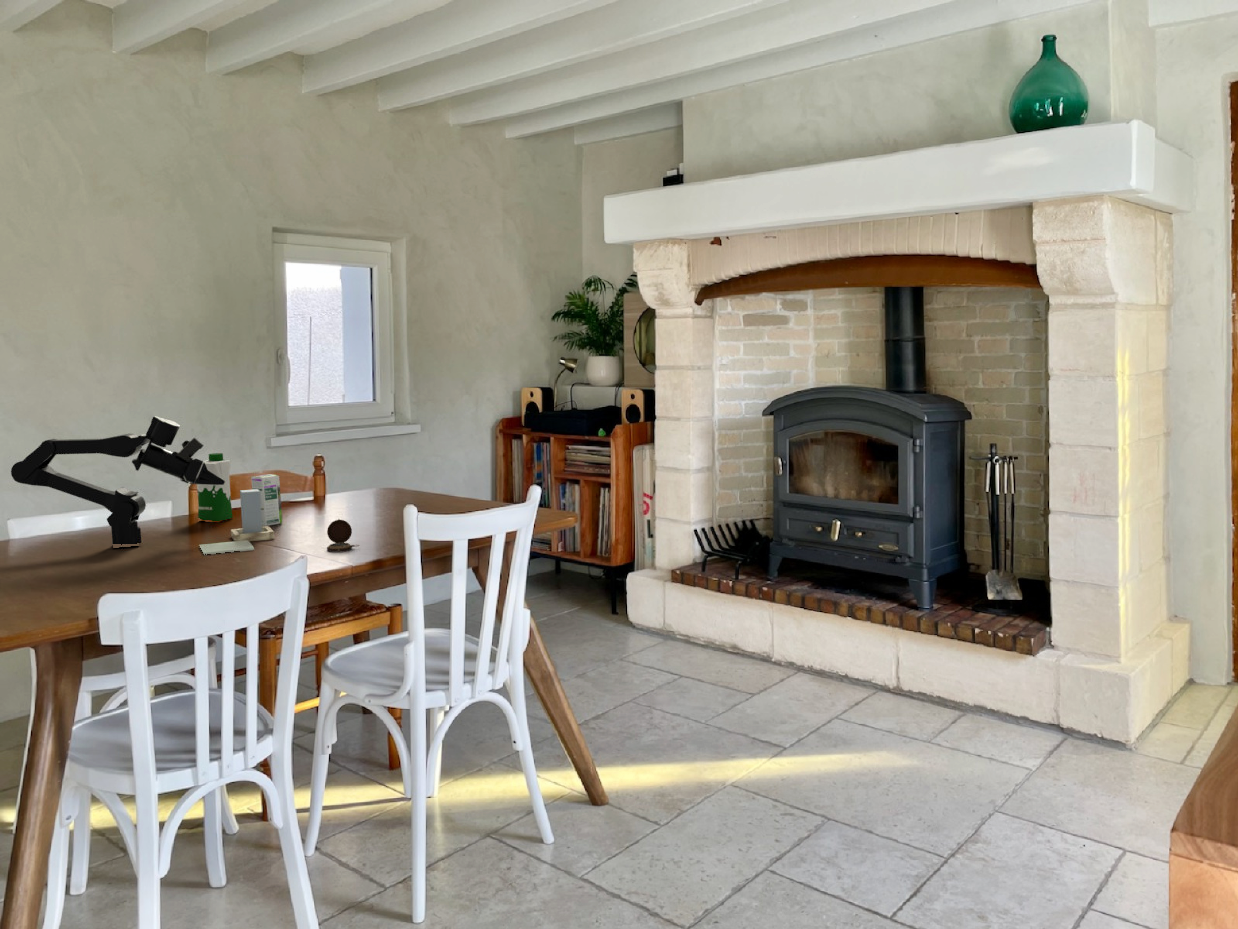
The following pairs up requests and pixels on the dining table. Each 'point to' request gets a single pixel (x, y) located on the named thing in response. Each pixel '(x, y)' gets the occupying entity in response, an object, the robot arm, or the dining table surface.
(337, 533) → the compass
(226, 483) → the milk carton
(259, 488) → the syrup box
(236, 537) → the holder
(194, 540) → the dining table surface
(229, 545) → the plate
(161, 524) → the dining table surface
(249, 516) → the link block
